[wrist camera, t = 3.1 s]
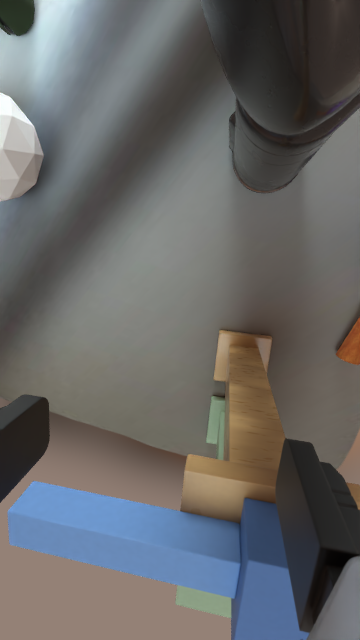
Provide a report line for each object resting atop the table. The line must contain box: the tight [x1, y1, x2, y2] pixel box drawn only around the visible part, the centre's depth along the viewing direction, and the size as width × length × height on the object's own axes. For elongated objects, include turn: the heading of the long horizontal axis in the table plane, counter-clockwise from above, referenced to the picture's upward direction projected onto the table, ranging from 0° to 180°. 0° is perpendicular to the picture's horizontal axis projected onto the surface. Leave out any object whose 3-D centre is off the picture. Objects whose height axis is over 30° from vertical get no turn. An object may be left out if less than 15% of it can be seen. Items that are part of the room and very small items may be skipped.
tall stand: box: [180, 330, 360, 525], centre depth 33 cm, size 10×8×32 cm
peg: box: [8, 481, 310, 640], centre depth 16 cm, size 18×6×4 cm, turn 85°
